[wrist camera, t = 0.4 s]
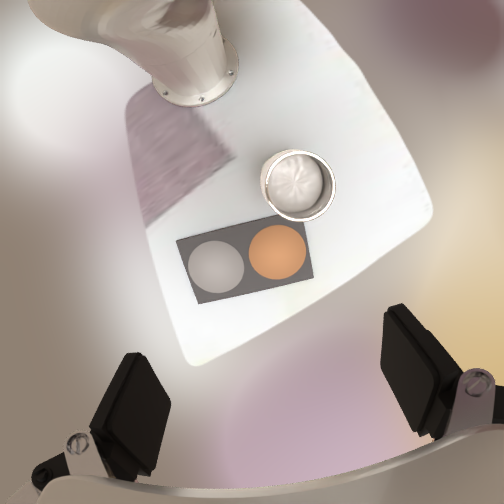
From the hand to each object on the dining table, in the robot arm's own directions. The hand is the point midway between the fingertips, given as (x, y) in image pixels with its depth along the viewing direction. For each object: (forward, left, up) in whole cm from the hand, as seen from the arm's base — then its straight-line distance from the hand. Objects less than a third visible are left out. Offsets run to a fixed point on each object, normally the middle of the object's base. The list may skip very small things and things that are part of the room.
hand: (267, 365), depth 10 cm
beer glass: (-4, +5, -32) cm, 33 cm away
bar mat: (+7, -3, -32) cm, 33 cm away
